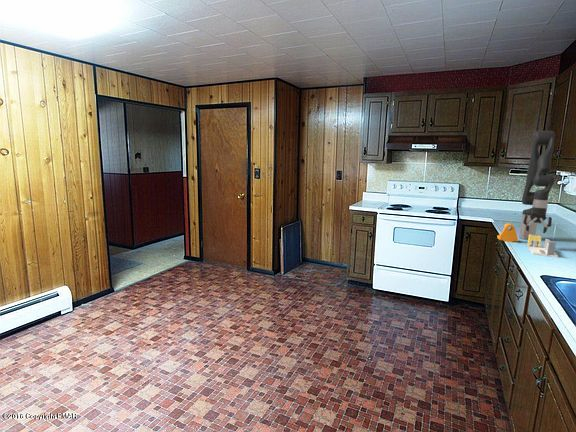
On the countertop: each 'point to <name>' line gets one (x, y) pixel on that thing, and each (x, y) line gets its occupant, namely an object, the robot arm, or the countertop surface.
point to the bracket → (508, 234)
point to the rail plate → (543, 248)
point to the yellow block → (534, 239)
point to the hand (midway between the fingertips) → (535, 232)
